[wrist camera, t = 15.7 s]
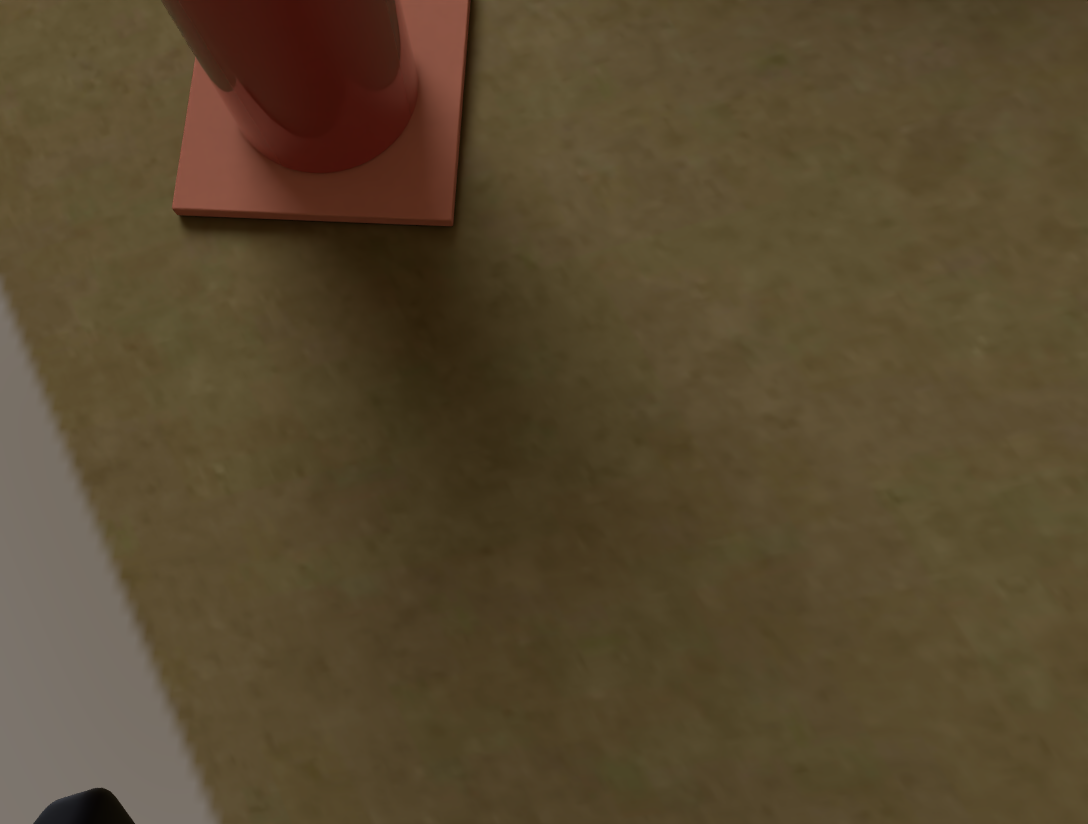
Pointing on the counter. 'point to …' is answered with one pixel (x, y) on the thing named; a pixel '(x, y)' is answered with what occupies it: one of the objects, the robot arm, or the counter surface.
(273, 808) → the counter surface
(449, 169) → the terracotta pad
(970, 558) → the counter surface
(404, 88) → the red cylinder
